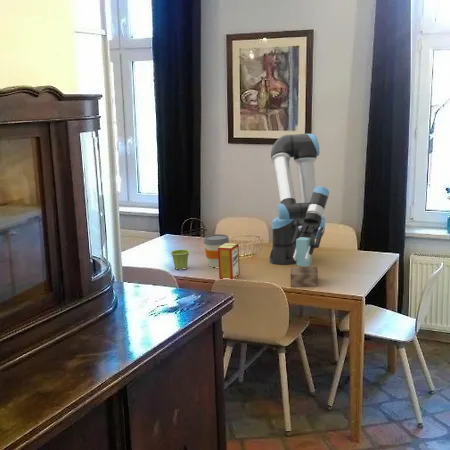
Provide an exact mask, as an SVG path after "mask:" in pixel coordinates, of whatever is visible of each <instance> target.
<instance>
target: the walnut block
mask: <svg viewBox="0 0 450 450" xmlns="http://www.w3.org/2000/svg"><path fill="white" fill-rule="evenodd" d="M318 273H319V272H318V266H307V267H306V266H296V267H295V266H291V267H290V273H289V274H290V275H289V276H290V288H316V287H317V288H318V287H319V277H318V275H319V274H318Z"/></svg>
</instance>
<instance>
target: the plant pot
mask: <svg viewBox="0 0 450 450" xmlns="http://www.w3.org/2000/svg"><path fill="white" fill-rule="evenodd" d="M170 254H171V257H172V261H173V264H174V265H173V266H174V269H175V268H177V269H182V270H184V269H183V268H186V267H187V268H188V261H189V260H188V259H189V255H190V250H188V249H175V250H172V251H171V252H170Z"/></svg>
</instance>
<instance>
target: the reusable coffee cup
mask: <svg viewBox="0 0 450 450" xmlns="http://www.w3.org/2000/svg"><path fill="white" fill-rule="evenodd" d="M203 240H204V241H203V243H204V245H205V247H204V251H205V255H206V256H205V257H206V258H207V262H208V267H209V266H211V267H219V260H218V247H220V246H222V245H223V244H225V243H230V239H229V235H226V234H222V233H221V234H219V233H218V234H209V235H206V236H204V239H203ZM211 267H210V268H211Z"/></svg>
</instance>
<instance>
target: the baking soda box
mask: <svg viewBox="0 0 450 450" xmlns="http://www.w3.org/2000/svg"><path fill="white" fill-rule="evenodd" d="M218 260H219V268H218V274H219V275H218V279H223V278H230V279H233V278H236V277H237V278H238V277H240V276H241V274H240V273H241V272H240V271H241V270H240V268H241V267H240V247H239V243H234V242H229V243H225V244H223V245H222V246H220V247H218ZM239 275H240V276H239ZM237 278H236V279H237Z"/></svg>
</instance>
